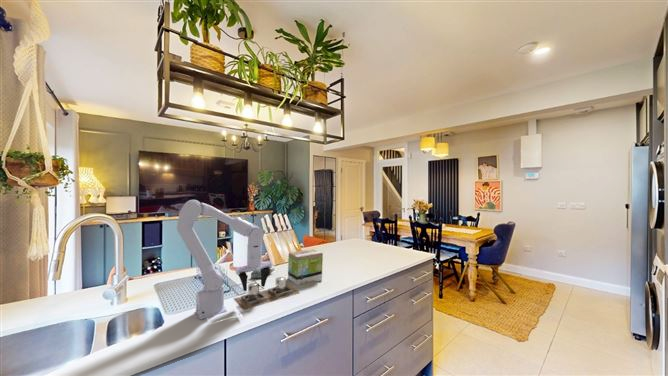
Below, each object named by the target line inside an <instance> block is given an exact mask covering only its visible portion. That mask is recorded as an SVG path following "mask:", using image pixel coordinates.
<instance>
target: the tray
mask: <svg viewBox="0 0 668 376" xmlns="http://www.w3.org/2000/svg"><path fill="white" fill-rule="evenodd" d="M251 283H258V282H257V281H255V280H251V281H247V284H251ZM237 286H242V283H239V284H236V285H231V286H229V288H230V289H231V290H232V291H233V292H234V293H235V294H236V295H237V296H243V295H247V294H248V291H246V292H244V293H240V294H239V293H238V292H237V291H236V290H235V289H234V288H233V287H237ZM263 290H265V287H263V286H261V284H259V291H263Z"/></svg>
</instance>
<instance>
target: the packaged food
mask: <svg viewBox="0 0 668 376" xmlns="http://www.w3.org/2000/svg"><path fill="white" fill-rule="evenodd" d="M269 269H270V273H269V275H271V273H273V272H274V271H275V268H269ZM250 278H251V279H261V270H256V271H251V274H250Z"/></svg>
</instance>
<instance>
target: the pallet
mask: <svg viewBox="0 0 668 376" xmlns="http://www.w3.org/2000/svg"><path fill="white" fill-rule="evenodd" d="M298 294H300V291H298V290H296V289H295V288H293V287H292V286H290V285H289V284H286V292H282V293H278V294H277V293H276V286H274V287H271V288H267V289H264V290H259V299H257V300H254V301H248V293H246V294H242V295H240V297H236V298H235V297H234V298H233V300H234V301H235V303H237V305H238V306H240V308H241V309H242V310H243V311H244V310H245V311H246V310H249V309H252V308H255V307H259V306H262V305H264V304H267V303H268V304H269V303H271V302H276V301H277V300H283V299H285V298H290V297H291V296H296V295H298Z"/></svg>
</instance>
